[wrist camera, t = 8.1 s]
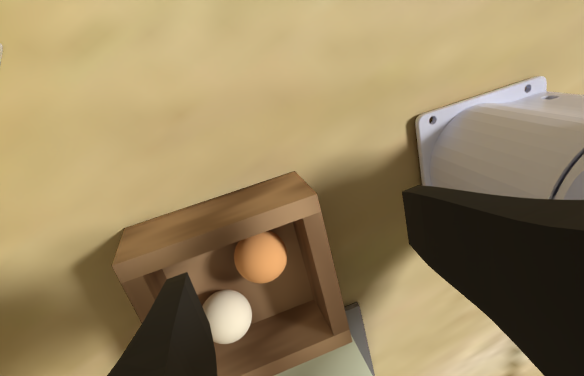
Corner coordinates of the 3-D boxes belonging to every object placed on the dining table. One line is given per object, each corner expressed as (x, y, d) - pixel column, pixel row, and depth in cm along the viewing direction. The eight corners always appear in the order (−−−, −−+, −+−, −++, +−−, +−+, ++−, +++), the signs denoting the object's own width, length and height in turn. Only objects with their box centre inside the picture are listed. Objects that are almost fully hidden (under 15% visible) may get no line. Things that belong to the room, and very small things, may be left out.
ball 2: (273, 214, 22) (285, 236, 19) (285, 255, 23) (299, 282, 20) (224, 231, 21) (230, 256, 19) (239, 272, 23) (247, 302, 20)
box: (294, 171, 22) (316, 193, 18) (328, 301, 26) (352, 341, 22) (124, 228, 20) (111, 266, 17) (187, 358, 24) (188, 411, 20)
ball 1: (239, 272, 23) (247, 302, 20) (253, 310, 24) (262, 343, 21) (191, 290, 22) (192, 323, 19) (208, 327, 23) (211, 363, 21)
